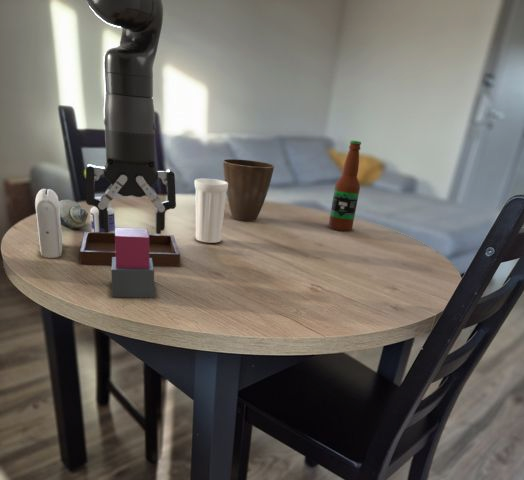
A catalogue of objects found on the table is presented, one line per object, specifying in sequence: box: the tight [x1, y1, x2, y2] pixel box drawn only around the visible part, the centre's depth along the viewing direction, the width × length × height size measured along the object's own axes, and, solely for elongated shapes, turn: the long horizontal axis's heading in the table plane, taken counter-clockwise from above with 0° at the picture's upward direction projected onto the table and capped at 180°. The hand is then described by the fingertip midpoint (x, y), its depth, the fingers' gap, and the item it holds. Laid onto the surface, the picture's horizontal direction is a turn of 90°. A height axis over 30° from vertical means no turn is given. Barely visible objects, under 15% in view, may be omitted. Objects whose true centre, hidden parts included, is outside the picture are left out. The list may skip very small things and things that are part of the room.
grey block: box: [110, 257, 155, 298], centre depth 86 cm, size 7×7×5 cm
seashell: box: [59, 198, 89, 230], centre depth 117 cm, size 6×8×12 cm
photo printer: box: [34, 188, 63, 259], centre depth 98 cm, size 10×4×12 cm, turn 20°
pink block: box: [115, 227, 149, 269], centre depth 83 cm, size 6×6×6 cm
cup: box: [193, 177, 228, 244], centre depth 117 cm, size 8×8×14 cm
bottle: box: [328, 140, 362, 232], centre depth 143 cm, size 7×7×25 cm
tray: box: [79, 231, 181, 267], centre depth 104 cm, size 20×15×3 cm
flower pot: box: [222, 158, 275, 222], centre depth 143 cm, size 15×15×16 cm
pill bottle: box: [89, 196, 116, 233], centre depth 112 cm, size 5×5×9 cm
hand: (132, 232), depth 82 cm, fingers open, 8 cm apart
